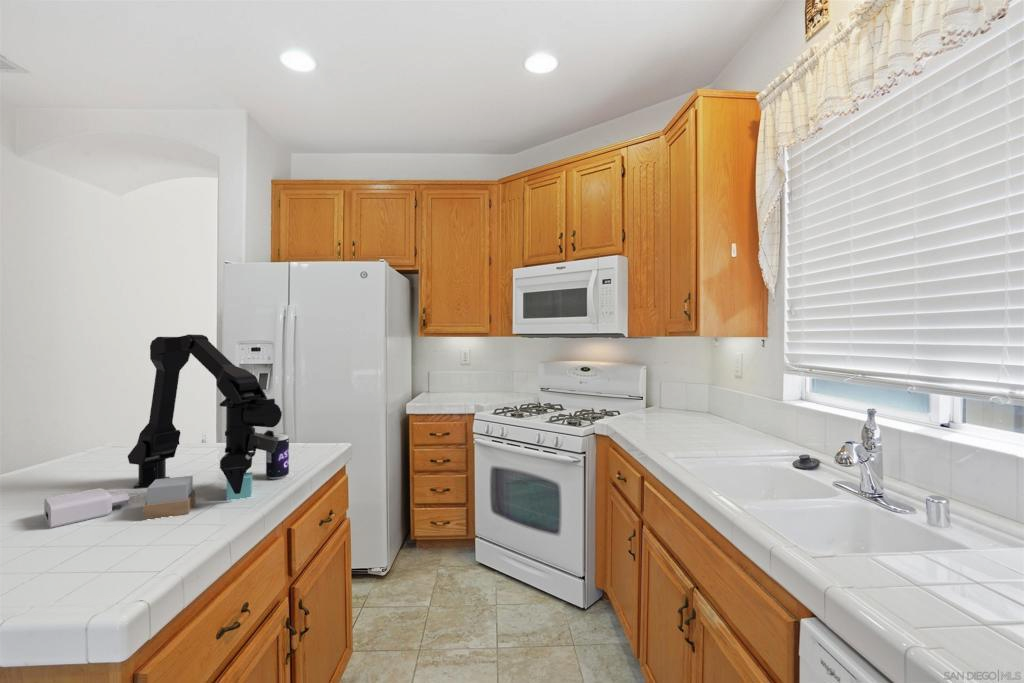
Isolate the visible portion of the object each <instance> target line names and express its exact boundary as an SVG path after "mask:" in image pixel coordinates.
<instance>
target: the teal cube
mask: <svg viewBox="0 0 1024 683" xmlns="http://www.w3.org/2000/svg"><path fill="white" fill-rule="evenodd" d="M252 494H253V471H251V472H246V473H244V478H243V483H242V487H241V492H240V494H235V493H234V491H233V489H232V487H231V485H230V484H229V482H228V480H227V479H226V501H227V500H228V501H232V500H231V499H236V500H241V499H240V498H244V499H248V498H247V497H252Z"/></svg>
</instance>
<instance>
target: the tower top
mask: <svg viewBox="0 0 1024 683" xmlns="http://www.w3.org/2000/svg"><path fill="white" fill-rule="evenodd" d="M193 477H194V475H186V476H177V477H170V478H165V479H156V480H155V481H154V482H153V483H152V484H151V485H150V486H148V487H147V488H146V502H147V505H149V504H157V503H165V502H173V501H182V500H187V498H188V497H189V495H190V494H191V492H192V491H193V490H194V489H193V486H194V485H193V482H194V480H193Z"/></svg>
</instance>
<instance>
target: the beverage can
mask: <svg viewBox="0 0 1024 683" xmlns="http://www.w3.org/2000/svg"><path fill="white" fill-rule="evenodd" d="M274 437H277V438H279V440H278V443H277V445H276V448H275V450H274V453H269V452H267V451H265V467H266V468H265V477H267V478H268V479H269V480H271V479H277V480H281V478H282V479H285V478H286V477H287V476H288V475H289V472H290V447H289V446H290V437H289V436H288V433H285V432H277V433H274ZM284 477H285V478H284Z"/></svg>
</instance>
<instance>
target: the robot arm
mask: <svg viewBox="0 0 1024 683" xmlns="http://www.w3.org/2000/svg"><path fill="white" fill-rule="evenodd" d="M149 350H150V351H149V352H150V354H149V358H150V361H151V362H152V364H153V367H155V369H156V370H155V377H154V385H153V390H152V392H153V393H152V399H151V407H150V413H149V421H148V423H147V424H146V425H145V426H144V428H143V429H142V430H141V432H140V433H139V435H138V439H137V442H136V445H135V446H134V447H133V448H132V449H131V451H130V452H129V453H128V454H127V460H128V463H129V464H131V465H138V481H137V482H136V483H135V484H134V485H133V488H134V489H136V488H146V487H147V488H148V487H149V486H150V485H151V484H152V483H153V482H154V481H155V480H156V479H165V478H171V477H170V476H166V475H167V473H166V470H167V468H166V464H167V459H170V458H171V459H172V458H175V455H176V452H177V448H178V446H179V445H180V438H181V437H180V436H181V431H180V430H179V429H176V427H175V425H174V423H173V421H174V416H175V415H174V413H175V407H176V401H177V400H176V399H177V393H178V384H179V379H180V371H181V370H182V369H183V368H184V367H185V365H186V364H187V363H188V362H189V361H190V360H189V359H190V357H191V355H192V356H193V357H194V358H195V359H196V360H197V361H198V362H199V363H200V364H201V365H202V366H203V367H204V368H205V369H206V370H207V371H208V372H209V373H210V374H211V375H212V376H213V377H214V378H215V380H216V387H217V388H218V390H219V392H220V393H221V394H222V395H223V397H224V398H225V399H223V401H221V402H220V403H219V406H220V407H223V408H224V407H225V408H226V410H225V411H226V412H225V413H226V415H225V421H226V424H225V429H226V430H225V431H224V436H225V439H226V440H225V448H224V453H225V454H224V455H223V456H221V459H220V460H219V469H220V470H221V472H222V473H223V475H224V476H225V478H226V481H227V480H228V482H229V484H230V485H231V487H232V489H233V491H234V493H235V494H240V492H241V487H242V483H243V478H244V473H247V471H248V470H249V469H250V468H251V467H252V465H253V457H255V455H256V452H257V450H260V451H265V452H266V451H267V452H269V453H274V450H275V448H276V445H277V443H278V440H279V438H277V437H274V434H275V433H274V431H273V430H270V429H267V430H266V431H265V432H264V433H262V432H259V433H258V432H256V427H261V428H274V427H276V426H278V425H279V423H280V421H281V420H282V416H283V414H282V413H283V411H281V407H280V406H279V405H278V404H276V402H275V401H276V399H275V398H268V397H267V395H266V393H265V391H264V390H263V388H262V386H261V384H260V383H259V380H258V377H256V375H255V374H253V373H252V372H250V371H248V370H247V369H246V368H242V367H240V366H237V365H235V364H233V363H232V362H231V360H229V359H228V358H227V357H226V356H225V355H224V354H223V353H222V352H221V351H219V349H217V347H215V345H214V344H212V343H211V342H210V340H209V338H208V337H207V336H206V335H204V334H186V335H181V336H157V337H155V338H154V339H153V340H152V341H151V342H150V345H149Z"/></svg>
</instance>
